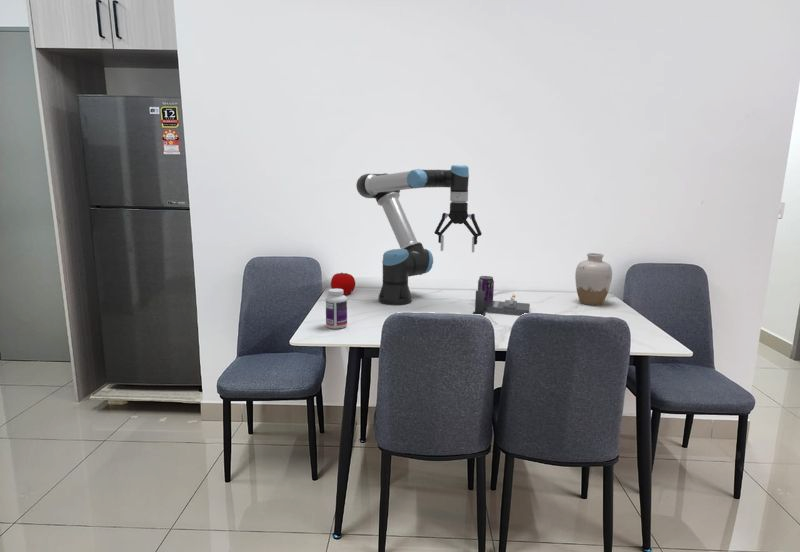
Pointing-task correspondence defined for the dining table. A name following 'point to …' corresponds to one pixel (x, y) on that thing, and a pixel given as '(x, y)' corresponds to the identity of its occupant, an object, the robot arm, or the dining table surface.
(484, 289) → the beverage can
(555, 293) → the dining table surface
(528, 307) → the breaker panel
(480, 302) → the cord post
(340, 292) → the pill bottle
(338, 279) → the tomato
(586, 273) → the vase
